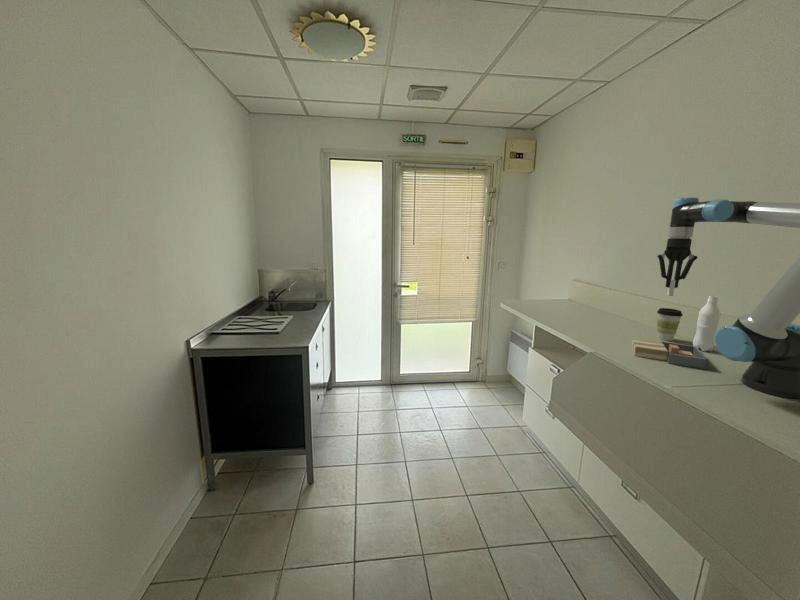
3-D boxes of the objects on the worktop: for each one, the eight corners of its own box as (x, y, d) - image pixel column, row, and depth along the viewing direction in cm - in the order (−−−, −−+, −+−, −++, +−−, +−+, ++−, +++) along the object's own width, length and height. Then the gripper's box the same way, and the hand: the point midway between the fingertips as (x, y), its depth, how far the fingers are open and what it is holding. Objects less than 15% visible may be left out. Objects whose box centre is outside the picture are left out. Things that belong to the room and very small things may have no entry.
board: (666, 360, 136) (668, 351, 135) (634, 355, 141) (635, 346, 140) (661, 351, 146) (662, 343, 145) (631, 347, 151) (632, 339, 151)
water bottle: (716, 352, 146) (729, 298, 141) (698, 351, 147) (710, 297, 142) (704, 347, 153) (716, 294, 148) (687, 346, 154) (698, 294, 149)
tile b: (679, 353, 136) (678, 358, 137) (693, 355, 134) (692, 360, 135) (676, 349, 140) (675, 355, 141) (690, 351, 138) (689, 357, 139)
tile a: (669, 357, 138) (677, 358, 137) (671, 347, 137) (679, 348, 136) (667, 354, 142) (674, 355, 141) (669, 344, 141) (676, 345, 140)
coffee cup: (648, 337, 167) (653, 308, 163) (659, 335, 171) (664, 307, 168) (670, 343, 158) (676, 313, 155) (681, 340, 162) (687, 311, 159)
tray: (706, 369, 128) (708, 359, 127) (667, 363, 133) (669, 353, 133) (694, 355, 143) (696, 346, 142) (659, 349, 149) (661, 341, 148)
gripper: (697, 238, 132) (687, 295, 137) (657, 237, 138) (648, 292, 143) (704, 238, 126) (692, 298, 130) (661, 237, 132) (652, 295, 136)
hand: (669, 295), depth 137 cm, fingers closed
